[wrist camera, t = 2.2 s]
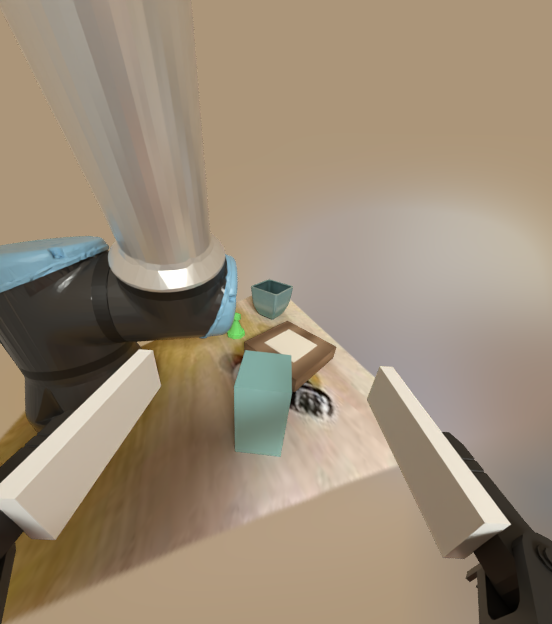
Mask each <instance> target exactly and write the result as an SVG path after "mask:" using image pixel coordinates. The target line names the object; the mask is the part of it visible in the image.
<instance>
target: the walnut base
mask: <svg viewBox="0 0 552 624" xmlns="http://www.w3.org/2000/svg"><path fill="white" fill-rule="evenodd" d="M245 350H248V351H258V352H267V353H276V354H285V355H291V363H292V391H293V392H295V391H296V390H297V389H299V388H300V387H301V386H302V385H303V384H304V383H305V382H306V381H308V380H309V379H310V378H311V377H312V376H313V375H314V374H315V373H317V372H318V371H319V370H320V369H321V368H322V367H323V366H324V365H326V364H327V363H328V362H329V361H330V360H331V359H332V358H333V357H334V353H335V350H336V346H334V345H332V344H330V343H328V342H326V341H324V340H322V339H321V338H319V337H317V336H315V335H313V334H311V333H309V332H307V331H306V330H304V329H302V328H300V327H298V326H296V325H294V324H293V323H291V322H289V321H286V322H284V323H282V324H280V325H278V326H276V327H274V328H272V329H270V330H268V331H266V332H264V333H262V334H260V335H257V336H255V337H253V338H251V339H249V340H247V341H245V342H244V353H245Z"/></svg>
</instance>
